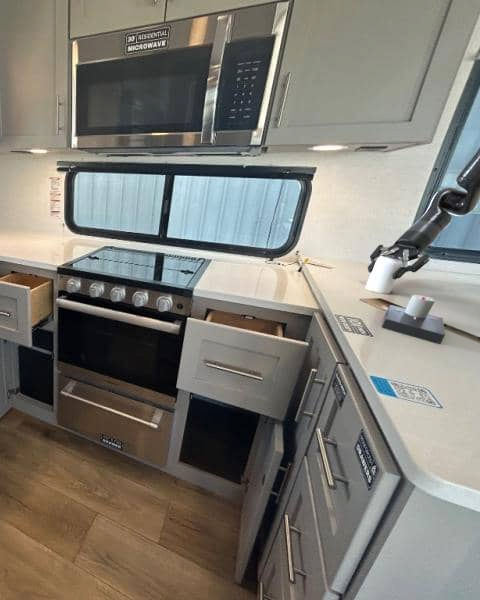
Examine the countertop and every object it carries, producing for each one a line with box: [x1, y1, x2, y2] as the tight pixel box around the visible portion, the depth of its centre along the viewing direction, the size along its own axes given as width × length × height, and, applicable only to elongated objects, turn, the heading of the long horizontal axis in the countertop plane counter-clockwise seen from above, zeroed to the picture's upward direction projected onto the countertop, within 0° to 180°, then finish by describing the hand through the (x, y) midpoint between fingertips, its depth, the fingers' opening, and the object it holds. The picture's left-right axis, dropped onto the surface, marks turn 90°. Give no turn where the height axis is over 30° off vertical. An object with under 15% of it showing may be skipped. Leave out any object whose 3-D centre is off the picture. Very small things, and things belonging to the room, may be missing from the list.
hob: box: [381, 305, 446, 345], centre depth 88 cm, size 15×11×3 cm
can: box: [365, 254, 403, 294], centre depth 109 cm, size 6×6×12 cm
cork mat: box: [359, 297, 407, 312], centre depth 101 cm, size 12×12×1 cm
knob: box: [405, 294, 436, 318], centre depth 88 cm, size 4×4×5 cm
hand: (381, 274), depth 108 cm, fingers closed on can, 6 cm apart
